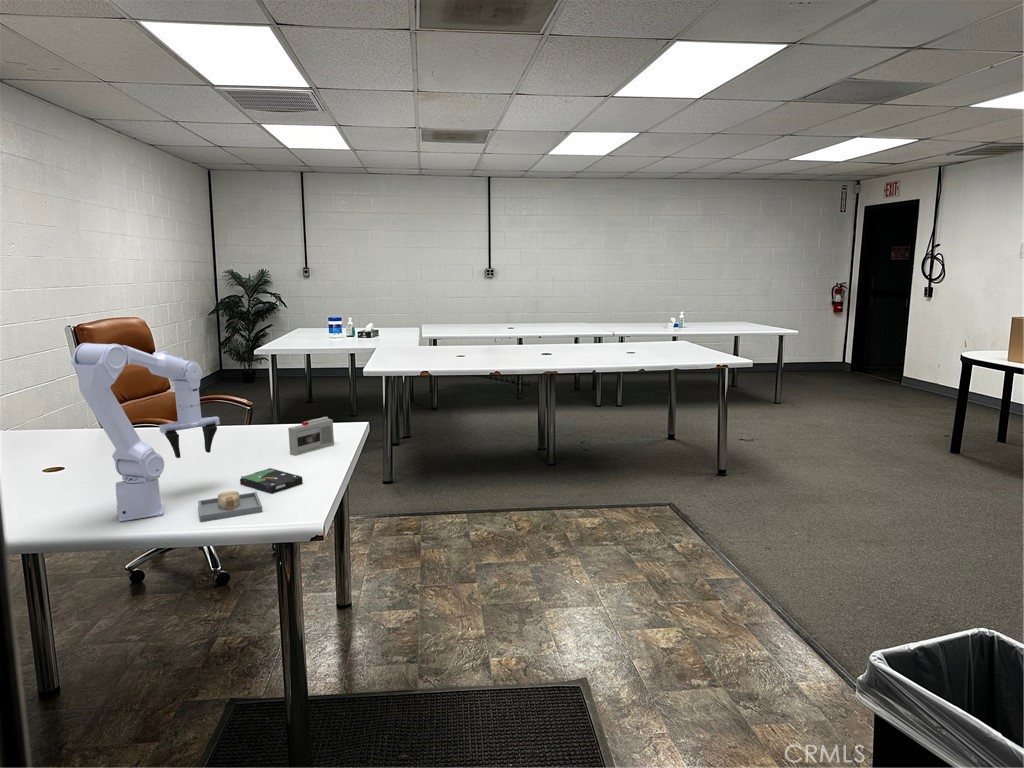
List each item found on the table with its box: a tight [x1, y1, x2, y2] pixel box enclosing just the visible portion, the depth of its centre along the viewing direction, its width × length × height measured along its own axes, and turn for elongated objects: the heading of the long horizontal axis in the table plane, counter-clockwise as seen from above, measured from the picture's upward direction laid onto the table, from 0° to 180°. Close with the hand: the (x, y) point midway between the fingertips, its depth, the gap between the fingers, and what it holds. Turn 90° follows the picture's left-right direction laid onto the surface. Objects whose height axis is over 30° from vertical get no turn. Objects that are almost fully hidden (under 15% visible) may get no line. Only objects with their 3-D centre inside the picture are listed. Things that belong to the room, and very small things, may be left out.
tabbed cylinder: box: [217, 490, 240, 511], centre depth 169 cm, size 8×5×3 cm, turn 27°
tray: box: [197, 491, 263, 523], centre depth 169 cm, size 14×12×2 cm
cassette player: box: [287, 416, 335, 457], centre depth 222 cm, size 16×3×10 cm, turn 144°
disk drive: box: [239, 467, 304, 495], centre depth 188 cm, size 10×3×15 cm
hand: (193, 454), depth 181 cm, fingers open, 7 cm apart
